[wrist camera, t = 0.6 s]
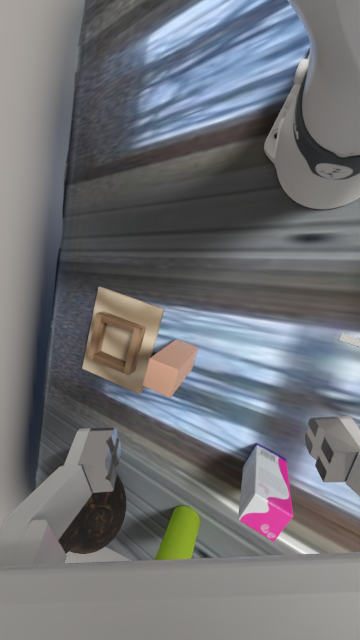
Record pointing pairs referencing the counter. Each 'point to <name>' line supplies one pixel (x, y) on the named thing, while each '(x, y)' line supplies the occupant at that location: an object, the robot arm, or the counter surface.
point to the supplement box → (265, 493)
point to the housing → (122, 338)
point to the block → (170, 367)
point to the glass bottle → (96, 521)
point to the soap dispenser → (180, 535)
